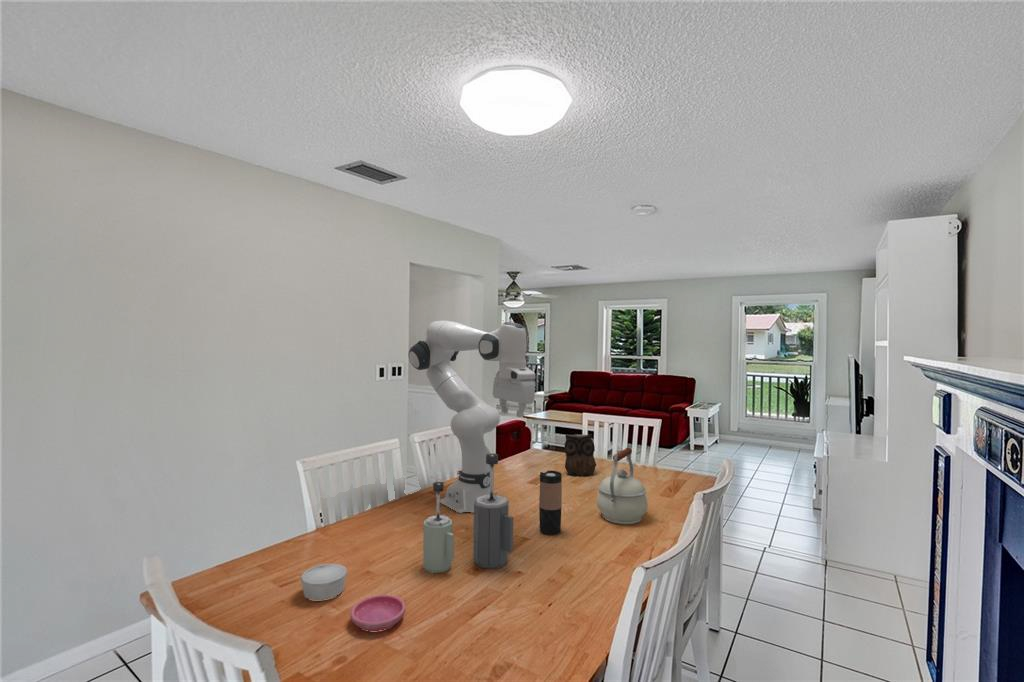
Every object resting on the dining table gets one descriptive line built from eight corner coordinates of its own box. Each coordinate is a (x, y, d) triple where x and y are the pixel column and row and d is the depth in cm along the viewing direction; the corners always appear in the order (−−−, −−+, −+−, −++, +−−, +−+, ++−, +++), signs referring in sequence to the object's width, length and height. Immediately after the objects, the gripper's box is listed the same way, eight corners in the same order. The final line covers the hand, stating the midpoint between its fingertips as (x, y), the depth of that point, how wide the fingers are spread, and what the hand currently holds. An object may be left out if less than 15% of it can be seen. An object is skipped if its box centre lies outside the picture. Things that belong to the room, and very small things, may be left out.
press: (466, 561, 146) (466, 500, 146) (490, 550, 154) (491, 491, 154) (499, 576, 138) (499, 510, 138) (522, 563, 146) (523, 501, 146)
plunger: (483, 499, 147) (483, 454, 146) (491, 496, 149) (491, 452, 149) (491, 501, 144) (492, 456, 144) (500, 498, 147) (500, 454, 147)
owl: (597, 475, 239) (597, 434, 238) (578, 479, 231) (578, 437, 231) (579, 469, 249) (579, 430, 249) (560, 473, 242) (560, 432, 241)
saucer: (409, 606, 122) (409, 593, 122) (399, 637, 110) (399, 622, 110) (358, 606, 122) (359, 594, 122) (343, 637, 109) (343, 623, 109)
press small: (417, 567, 142) (418, 519, 142) (438, 557, 149) (439, 512, 148) (441, 578, 136) (442, 529, 136) (462, 568, 142) (463, 520, 142)
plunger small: (430, 517, 143) (431, 483, 142) (438, 514, 145) (438, 481, 145) (437, 520, 141) (437, 485, 141) (445, 517, 143) (445, 483, 143)
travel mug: (560, 536, 165) (560, 477, 165) (537, 534, 167) (538, 475, 167) (562, 528, 173) (563, 471, 173) (540, 526, 174) (541, 469, 174)
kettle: (636, 532, 170) (637, 460, 169) (587, 521, 179) (587, 453, 179) (657, 511, 191) (657, 446, 190) (611, 502, 200) (612, 441, 200)
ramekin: (332, 578, 136) (332, 559, 136) (355, 591, 129) (355, 571, 129) (292, 594, 127) (292, 574, 127) (315, 610, 120) (315, 588, 120)
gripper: (488, 370, 168) (488, 411, 168) (521, 374, 150) (521, 420, 150) (504, 370, 171) (503, 409, 171) (538, 374, 154) (537, 418, 154)
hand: (512, 414), depth 161 cm, fingers open, 8 cm apart
